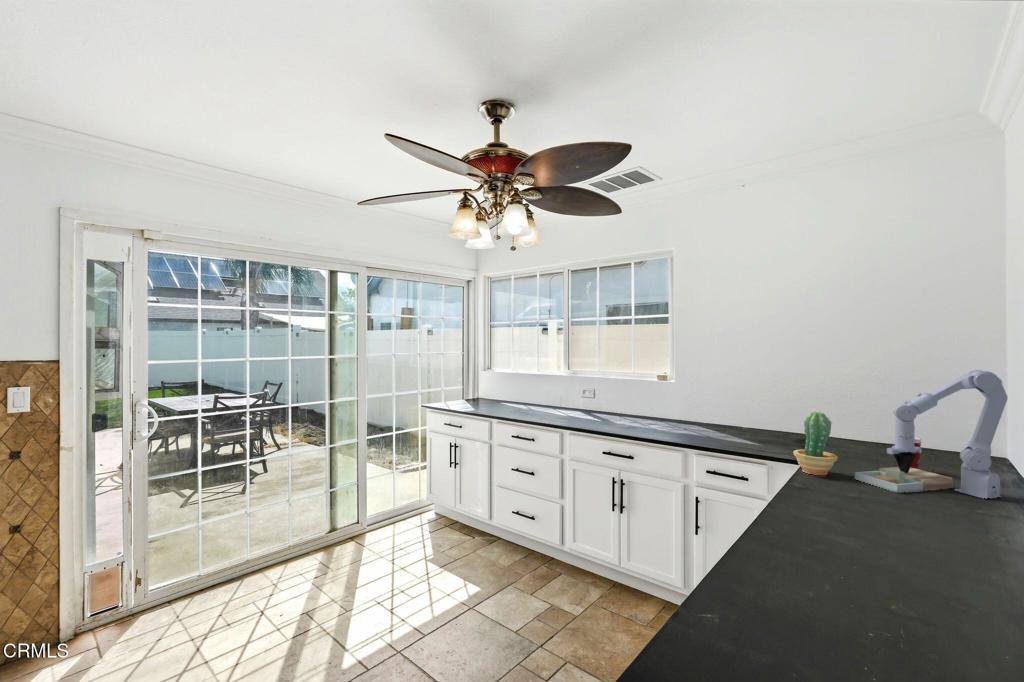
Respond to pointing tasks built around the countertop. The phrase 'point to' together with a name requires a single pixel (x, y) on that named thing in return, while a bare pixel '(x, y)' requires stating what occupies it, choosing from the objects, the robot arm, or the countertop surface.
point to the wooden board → (926, 478)
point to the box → (898, 488)
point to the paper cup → (916, 461)
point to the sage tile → (896, 475)
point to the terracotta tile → (886, 478)
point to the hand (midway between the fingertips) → (904, 472)
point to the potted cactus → (816, 445)
